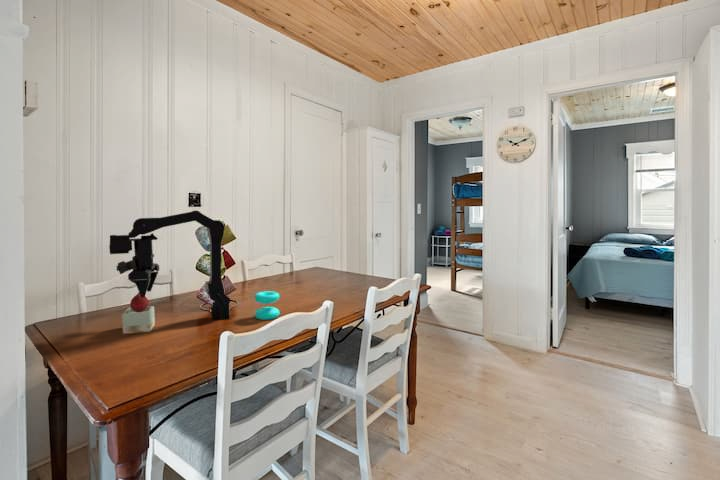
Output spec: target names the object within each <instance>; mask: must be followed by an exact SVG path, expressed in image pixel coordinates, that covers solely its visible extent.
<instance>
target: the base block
mask: <svg viewBox="0 0 720 480" xmlns="http://www.w3.org/2000/svg"><path fill="white" fill-rule="evenodd" d="M155 324H156V318H155V317H154V319H153V320H152V322H151V323H150V324H149V325H136V326H123V325H122V334H134V333H135V334H137V333H147V332H151V331H152V329H153V328H154V326H155Z"/></svg>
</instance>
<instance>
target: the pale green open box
mask: <svg viewBox="0 0 720 480" xmlns="http://www.w3.org/2000/svg"><path fill="white" fill-rule="evenodd" d="M121 317H122V318H121V321H122V327H123V326H136V325H149V324H150V323H151V322H152V320H153V319H154V318H155V306H154V305H153V306H149V305H148V307H147V308H146V309H145V310H144V311H143V312H138V313H137V312H135V311H133V310H132V309H131V307H128V308H127V309H126V310H124V312H123V313H121Z"/></svg>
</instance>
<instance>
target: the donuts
mask: <svg viewBox="0 0 720 480" xmlns="http://www.w3.org/2000/svg"><path fill="white" fill-rule="evenodd" d="M279 299H280V293H279V292H276V291H272V290H271V291H267V290H265V291H259V292H257V293H255V295H254V300H255V302H256V303H259V304H265V305H266V304H274V303H275V302H278V301H279ZM254 316H255V318H256V319H258V320H261V321H262V320H263V321H264V320H265V321H268V320H269V321H270V320H274V319H277V318H278V317H279V316H280V310H279V309H278V308H277V307H274V306H263V307H260V308H258V309H257V310H256V311H255V312H254Z"/></svg>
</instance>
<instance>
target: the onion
mask: <svg viewBox="0 0 720 480" xmlns="http://www.w3.org/2000/svg"><path fill="white" fill-rule="evenodd" d="M129 305H130V307H129V308H131V309H132V310H133V311H135V312H137V313H138V312H143V311H144V310H145V309H146V308H147V307H149V299H148V298H147V297H146V296H145V297H141V296H140V293H139V292H137V293H136V295H134V296H133V297H132V298H131V300H130V304H129Z"/></svg>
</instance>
